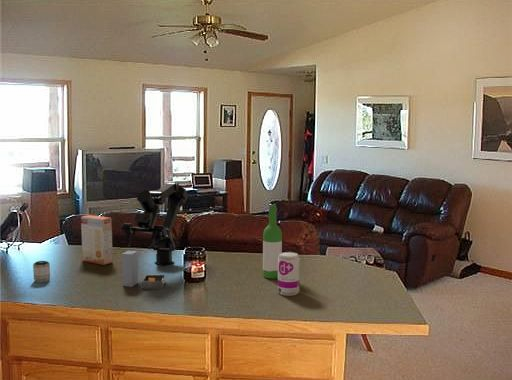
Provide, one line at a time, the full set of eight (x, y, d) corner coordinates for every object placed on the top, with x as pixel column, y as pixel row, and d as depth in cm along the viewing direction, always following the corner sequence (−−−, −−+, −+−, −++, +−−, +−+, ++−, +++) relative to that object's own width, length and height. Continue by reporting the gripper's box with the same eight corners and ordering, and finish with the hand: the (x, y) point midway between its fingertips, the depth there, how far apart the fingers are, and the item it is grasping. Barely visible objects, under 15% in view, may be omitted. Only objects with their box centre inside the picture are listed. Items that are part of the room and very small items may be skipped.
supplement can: (292, 297, 211) (293, 258, 209) (273, 293, 216) (273, 255, 214) (303, 291, 218) (303, 253, 216) (284, 288, 223) (284, 250, 221)
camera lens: (44, 277, 235) (43, 259, 234) (53, 280, 232) (52, 261, 231) (30, 281, 230) (29, 262, 229) (39, 284, 227) (39, 264, 226)
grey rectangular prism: (128, 282, 230) (128, 250, 228) (138, 283, 229) (137, 251, 227) (122, 285, 225) (122, 253, 223) (132, 286, 224) (131, 254, 222)
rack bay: (145, 282, 230) (145, 272, 229) (165, 282, 230) (164, 271, 229) (141, 288, 221) (141, 278, 220) (162, 288, 221) (161, 278, 221)
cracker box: (113, 262, 259) (112, 217, 256) (103, 265, 254) (101, 219, 251) (92, 258, 267) (90, 214, 264) (81, 261, 262) (80, 216, 259)
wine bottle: (283, 279, 235) (284, 206, 231) (264, 279, 234) (265, 207, 230) (279, 273, 243) (280, 203, 239) (261, 274, 241) (261, 204, 237)
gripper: (122, 204, 237) (110, 235, 228) (164, 206, 233) (153, 238, 223) (131, 219, 246) (120, 250, 237) (172, 221, 241) (161, 253, 232)
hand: (138, 247), depth 232 cm, fingers open, 9 cm apart
